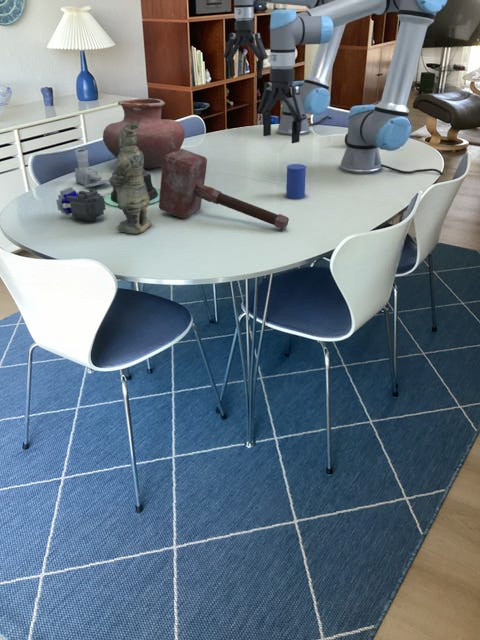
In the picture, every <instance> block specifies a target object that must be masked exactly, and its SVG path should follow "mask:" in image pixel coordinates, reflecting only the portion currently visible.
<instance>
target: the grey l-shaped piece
mask: <svg viewBox="0 0 480 640" xmlns="http://www.w3.org/2000/svg"><path fill="white" fill-rule="evenodd" d="M88 151H89V150H88V149H87V148H77V149H75V150H74V153H75V158H76V160H77V167H75V168H74V174H75V175H74V176H75V181H76V183H78V184H80V185H83V188H90V187H96V186H100V185H103V184H107V183H109V179H110V178H109V179H103V178H102V177H103V176H102V175H100V174H99V171H98V170H97V169H93V168H90V164H89V152H88Z"/></svg>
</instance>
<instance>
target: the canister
mask: <svg viewBox="0 0 480 640" xmlns="http://www.w3.org/2000/svg"><path fill="white" fill-rule="evenodd" d="M306 174H307V165H305V164H301V163H293V164H291V163H290V164H287V165H286V189H285V192H286V193H285V194H286V195H285V197H286V198H287V199H290V200H302V199H304V198H306V197H305V196H306V176H307V175H306Z"/></svg>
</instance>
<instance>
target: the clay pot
mask: <svg viewBox="0 0 480 640" xmlns="http://www.w3.org/2000/svg"><path fill="white" fill-rule="evenodd" d="M165 104H166V102H165V101H163V100H162V99H159V98H132V99H130V98H129V99H122V100H118V102H117V105H118V106H121V108H122V110H123V115H124V117H123V119H122V120H121V121H117V122H112V123H109V124H107V125H106V126H105V128H104V129H103V131H102V141H103V143H104V145H105V147H106V149H107V150H108V151H109V152H110V153H111V154H112V156H114V157H115V158H116V159H117V156H118V154H119V151H120V147H119V140H118V138H119V133H120V130H121V129H123V128H124V127H125V126H126V125H127V124H128V123H131V122H133V121H137V122H138V123H139V127H138V130H137V131H136V138H137V143H136V146H137V147H138V149H139V150H141V151H142V153H143V156H144V166H143V169H155V168H158V167H161V166H163V158H164V156H165V155H167V154H170V153H172V152H174V151H177V150H179V149H182V146H183V143H184V141H185V137H186V134H185V129H184V127H183V126H182V124H181V123H180V122H178V120H174V119H168V118H167V119H165V118H163V119H162V110H163V107H164V106H165Z"/></svg>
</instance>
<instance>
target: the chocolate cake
mask: <svg viewBox="0 0 480 640" xmlns="http://www.w3.org/2000/svg"><path fill="white" fill-rule="evenodd" d="M113 175H114V171H112V173H111V176H113ZM143 178H144V182H145V184H146V188H147V192H148V195H149V197H150V204H154V203H157V202H159V198H160V188H156V187H154V185H153V182H152V174H151V172H149V171H148V170H146V169H145V168H143ZM103 198H104V202H105V204H108V205H109V206H115V207H118V202H117V192H116V189H115V188H114V187H112V191H111V193H108V194H107V195H106V196H104V197H103ZM150 204H149V205H150Z"/></svg>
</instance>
